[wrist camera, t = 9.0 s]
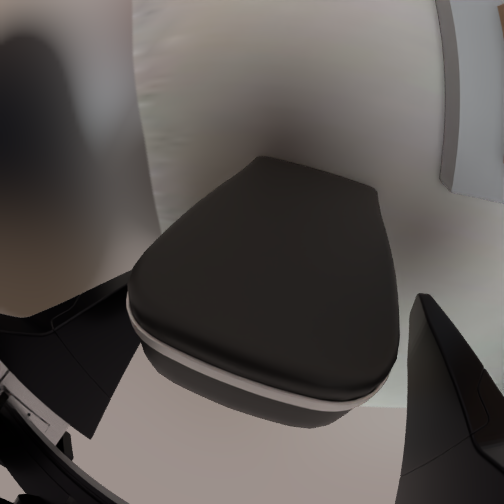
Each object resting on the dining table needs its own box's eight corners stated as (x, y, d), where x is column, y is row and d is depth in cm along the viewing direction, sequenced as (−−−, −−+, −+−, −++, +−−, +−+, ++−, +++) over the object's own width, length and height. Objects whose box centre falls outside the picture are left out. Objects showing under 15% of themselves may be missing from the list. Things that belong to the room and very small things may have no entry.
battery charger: (245, 212, 16) (125, 372, 7) (254, 151, 14) (88, 291, 5) (359, 247, 15) (337, 452, 6) (382, 188, 13) (413, 406, 4)
